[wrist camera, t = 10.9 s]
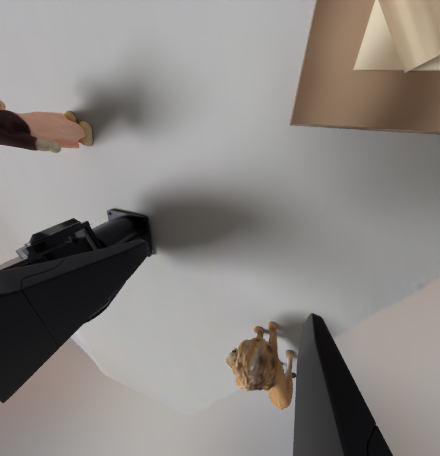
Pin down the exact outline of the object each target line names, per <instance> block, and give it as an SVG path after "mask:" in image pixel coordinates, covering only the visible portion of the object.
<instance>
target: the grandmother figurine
mask: <svg viewBox="0 0 440 456" xmlns="http://www.w3.org/2000/svg"><path fill="white" fill-rule="evenodd" d="M5 109H6V107H5V104H4V103H3V102H2V101H0V145H7V146H13V147H18V148H24V149H29V150H40V151H51V152H54V153H58V152H60V150H61V147H63V148H79V144H78V142H80V143H82V144H83V145H86V146H91V145H92V142H93V137H92V128H91V126H90V124H89V123H87V122H85V121H81V122H80V123H79V124H77V120H76V117H75V116H74V115H73V114H72V113H71V112H70V111H67V112H65V113H64V115H63V114H62V113H49V112H32V113H25V114H18V113H14V112H11V111H7V110H5Z"/></svg>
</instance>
